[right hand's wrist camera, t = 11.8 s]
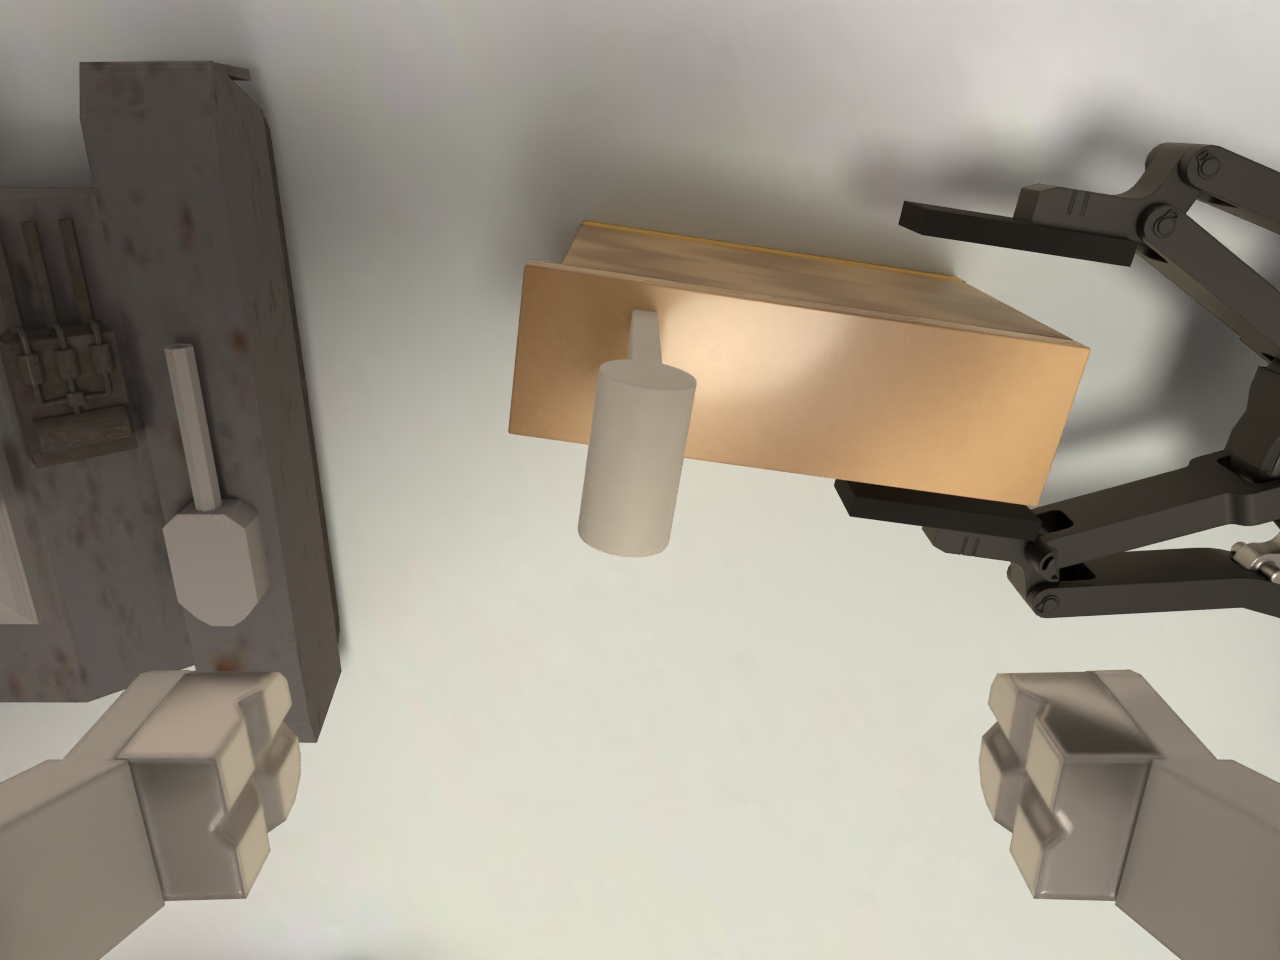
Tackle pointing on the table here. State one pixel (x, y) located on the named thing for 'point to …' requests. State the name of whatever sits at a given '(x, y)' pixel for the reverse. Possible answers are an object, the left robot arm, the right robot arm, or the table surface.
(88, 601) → the toy
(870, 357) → the lid
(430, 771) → the table surface
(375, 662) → the table surface
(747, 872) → the table surface
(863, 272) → the chest
